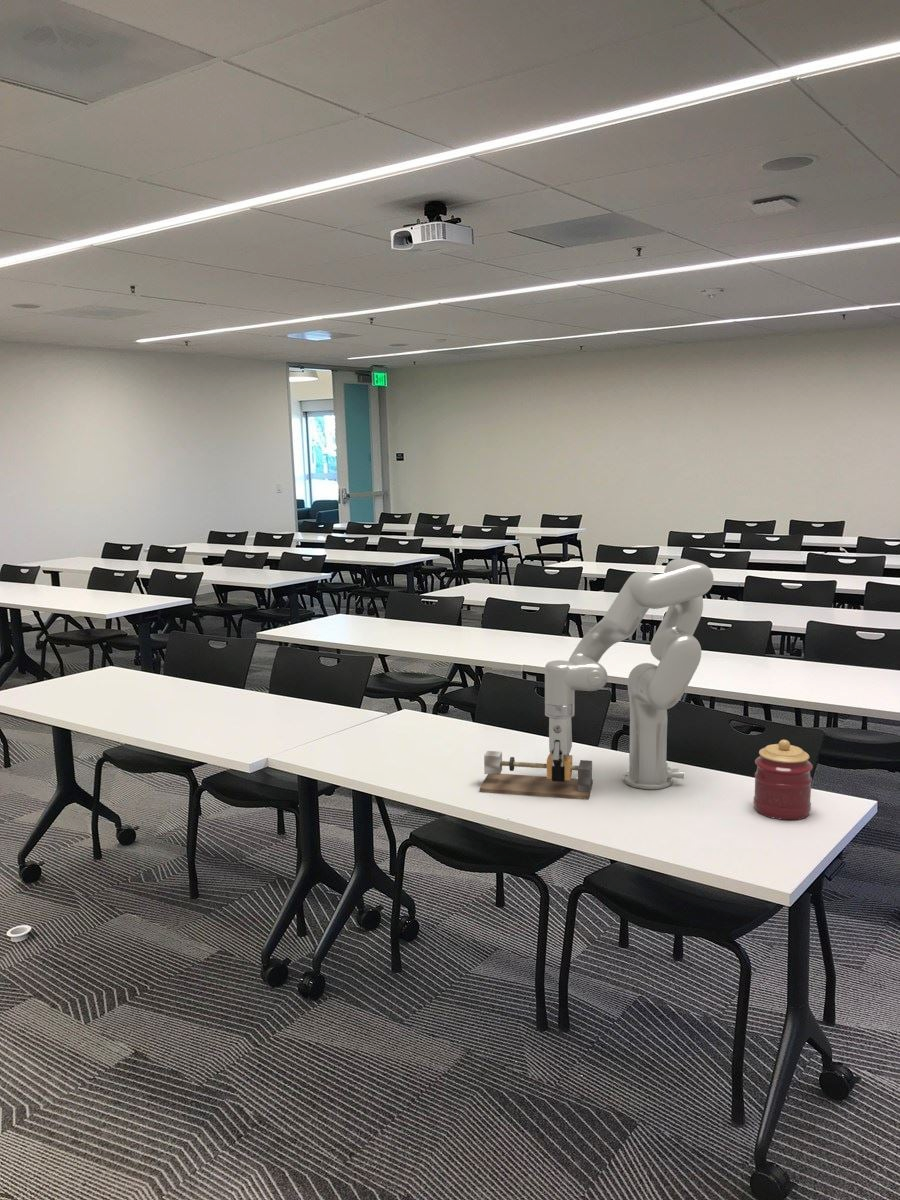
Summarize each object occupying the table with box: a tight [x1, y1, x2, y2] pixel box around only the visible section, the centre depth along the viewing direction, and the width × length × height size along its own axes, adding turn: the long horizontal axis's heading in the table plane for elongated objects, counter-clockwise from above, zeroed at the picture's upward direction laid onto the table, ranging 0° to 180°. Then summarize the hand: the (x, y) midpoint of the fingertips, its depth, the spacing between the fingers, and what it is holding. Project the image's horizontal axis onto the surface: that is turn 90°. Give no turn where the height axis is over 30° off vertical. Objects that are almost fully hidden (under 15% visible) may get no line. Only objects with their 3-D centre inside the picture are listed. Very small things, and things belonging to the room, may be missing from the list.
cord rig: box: [479, 750, 594, 801], centre depth 235 cm, size 28×12×8 cm, turn 76°
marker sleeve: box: [546, 753, 573, 780], centre depth 233 cm, size 6×5×5 cm
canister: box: [753, 739, 813, 820], centre depth 216 cm, size 13×13×18 cm
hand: (559, 776), depth 234 cm, fingers closed on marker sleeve, 5 cm apart
